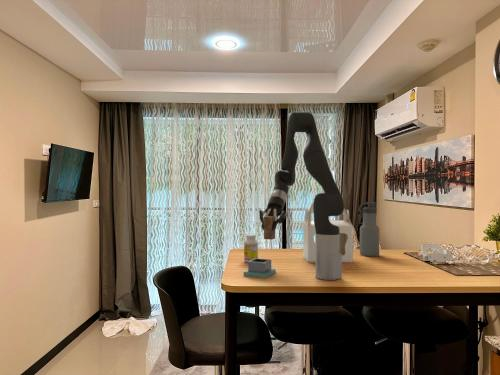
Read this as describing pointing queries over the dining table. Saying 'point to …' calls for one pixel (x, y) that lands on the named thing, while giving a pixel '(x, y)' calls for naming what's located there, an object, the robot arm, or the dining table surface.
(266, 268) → the square socket frame
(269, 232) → the rail post
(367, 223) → the water bottle
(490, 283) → the dining table surface
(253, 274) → the plate
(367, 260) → the dining table surface
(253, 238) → the supplement bottle
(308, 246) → the gable box
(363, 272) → the dining table surface
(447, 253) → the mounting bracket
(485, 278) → the dining table surface
